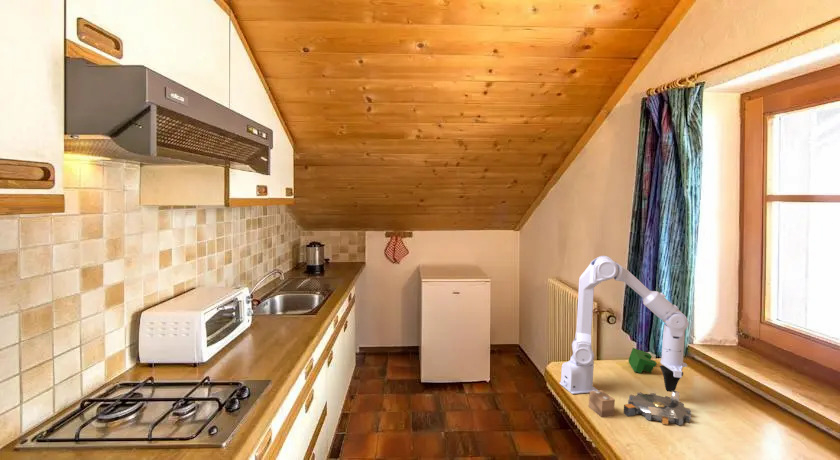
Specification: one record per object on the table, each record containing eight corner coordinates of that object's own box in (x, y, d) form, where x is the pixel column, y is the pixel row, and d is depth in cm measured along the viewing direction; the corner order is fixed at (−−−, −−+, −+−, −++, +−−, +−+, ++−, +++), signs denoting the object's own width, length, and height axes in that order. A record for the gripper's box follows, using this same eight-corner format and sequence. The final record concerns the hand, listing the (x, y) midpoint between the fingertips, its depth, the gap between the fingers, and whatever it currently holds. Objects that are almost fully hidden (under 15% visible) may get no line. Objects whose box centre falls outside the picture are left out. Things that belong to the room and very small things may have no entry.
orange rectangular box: (627, 416, 122) (628, 407, 122) (623, 413, 124) (624, 404, 124) (635, 415, 123) (635, 406, 123) (630, 412, 125) (631, 403, 124)
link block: (613, 416, 122) (614, 399, 122) (601, 417, 122) (602, 400, 121) (600, 406, 128) (601, 389, 128) (588, 407, 127) (589, 390, 127)
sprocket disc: (655, 427, 116) (656, 409, 116) (616, 399, 132) (617, 383, 131) (705, 422, 119) (706, 404, 119) (660, 395, 135) (661, 379, 135)
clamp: (647, 385, 153) (658, 367, 149) (630, 379, 155) (640, 361, 150) (644, 361, 163) (654, 344, 159) (628, 356, 165) (637, 339, 160)
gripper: (695, 358, 123) (691, 403, 124) (680, 342, 137) (678, 383, 138) (667, 355, 125) (664, 399, 126) (656, 339, 139) (653, 379, 140)
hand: (669, 390), depth 132 cm, fingers closed
